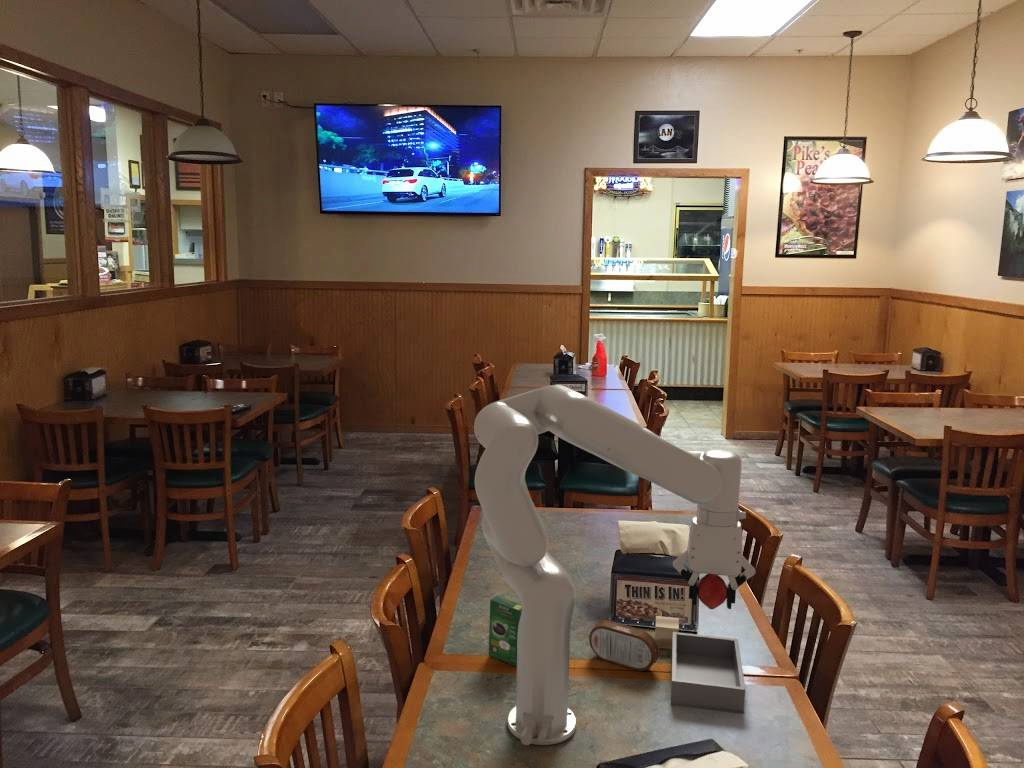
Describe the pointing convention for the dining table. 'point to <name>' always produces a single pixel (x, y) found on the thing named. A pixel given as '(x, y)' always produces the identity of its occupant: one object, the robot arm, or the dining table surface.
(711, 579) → the onion
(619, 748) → the dining table surface
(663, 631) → the maple cube
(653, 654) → the tin
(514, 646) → the coffee box
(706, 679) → the tote
